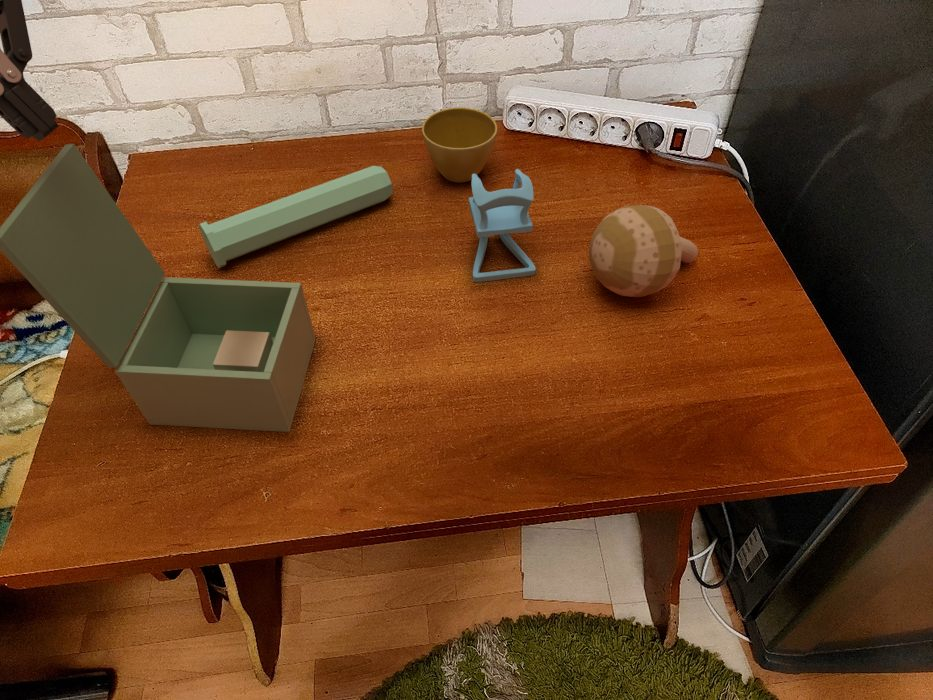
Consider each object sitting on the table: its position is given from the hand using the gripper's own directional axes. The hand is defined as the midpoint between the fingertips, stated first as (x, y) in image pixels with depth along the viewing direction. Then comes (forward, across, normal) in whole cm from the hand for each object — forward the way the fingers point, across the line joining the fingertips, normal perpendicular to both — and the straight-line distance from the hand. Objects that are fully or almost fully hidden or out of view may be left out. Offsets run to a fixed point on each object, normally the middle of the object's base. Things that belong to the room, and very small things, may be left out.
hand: (49, 133), depth 53 cm
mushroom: (+50, +32, -19) cm, 62 cm away
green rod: (+27, +21, +17) cm, 38 cm away
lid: (+10, -3, +5) cm, 12 cm away
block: (+29, -1, +6) cm, 29 cm away
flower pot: (+36, +41, +8) cm, 55 cm away
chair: (+40, +28, -4) cm, 49 cm away
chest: (+28, -2, +7) cm, 30 cm away
